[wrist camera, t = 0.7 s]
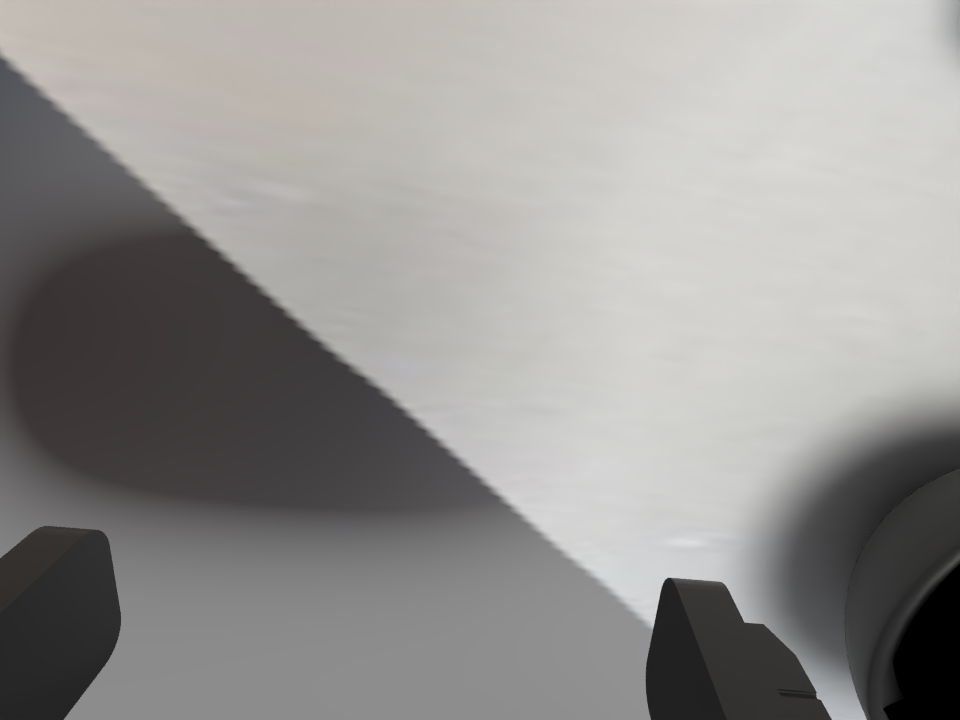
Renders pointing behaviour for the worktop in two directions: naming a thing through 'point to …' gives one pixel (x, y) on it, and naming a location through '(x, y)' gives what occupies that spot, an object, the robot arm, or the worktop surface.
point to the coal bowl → (909, 609)
